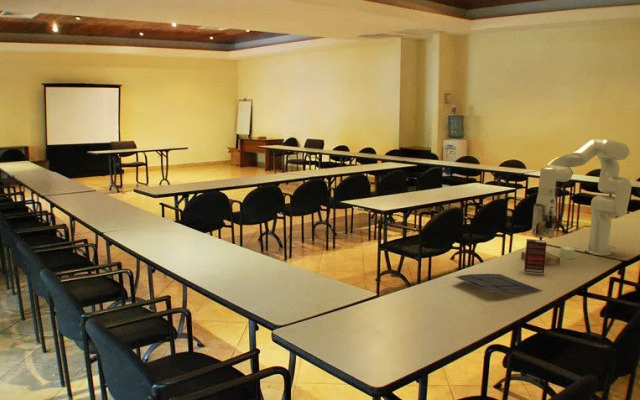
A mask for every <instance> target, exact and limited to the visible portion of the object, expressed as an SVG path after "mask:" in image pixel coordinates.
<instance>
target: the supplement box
mask: <svg viewBox="0 0 640 400" xmlns="http://www.w3.org/2000/svg"><path fill="white" fill-rule="evenodd" d="M525 252H526V255H525V260H524V269H523V270H524V274H531V275H540V276H541V275H543V276H544V274H545V267H546V266H545V255H546V252H547V240H543V239H533V238H526V245H525Z"/></svg>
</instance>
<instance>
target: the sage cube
mask: <svg viewBox="0 0 640 400" xmlns="http://www.w3.org/2000/svg"><path fill="white" fill-rule="evenodd" d="M559 248H560V251H559V258H560V257H561V258H562V259H565V260H574V259H575V257H576V256H575V255H576V249H574V248H573V247H571V246H570V247H569V246H567V247H565V246H562V247H561V246H560V247H559Z"/></svg>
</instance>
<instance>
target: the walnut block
mask: <svg viewBox="0 0 640 400" xmlns="http://www.w3.org/2000/svg"><path fill="white" fill-rule="evenodd" d="M525 255H526V251H522V252H521V255H520V259H521V260H522V261H525ZM560 260H561V258H560V256H559V257H558V256H556V255H554V254H551V253H549V252H547V251H546V255H545V266H544V267H547V266H548V267H549V266H559V265H560V264H561V263H560Z"/></svg>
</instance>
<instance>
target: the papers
mask: <svg viewBox="0 0 640 400" xmlns="http://www.w3.org/2000/svg"><path fill="white" fill-rule="evenodd" d="M455 278H457V279H459V280H461V281H463V282H465V283H468V284H470V285H472V286H474V287H477V288H479V289H482V290H484V291H485V292H488V293H498V294H499V293H500V294H501V293H504V294H506V293H516V292H519V293H520V292H538V291H541V292H542V291H543V290H542V289H540V288H537V287H535V286H531V285H528V284H525V283H524V282H521V281H518V280H516V279H513V278H511V277H508V276H505V275H503V274H502V273H475V274H474V273H472V274H463V275H459V276H455Z"/></svg>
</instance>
